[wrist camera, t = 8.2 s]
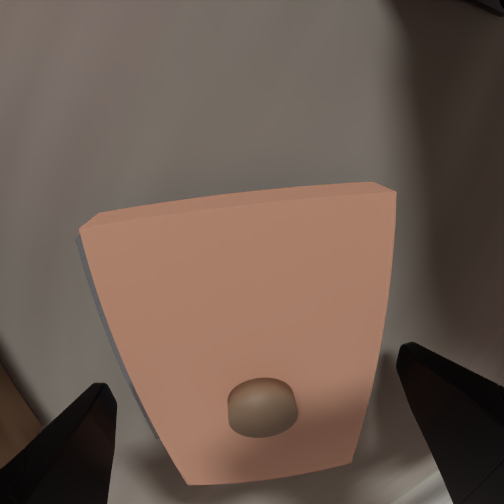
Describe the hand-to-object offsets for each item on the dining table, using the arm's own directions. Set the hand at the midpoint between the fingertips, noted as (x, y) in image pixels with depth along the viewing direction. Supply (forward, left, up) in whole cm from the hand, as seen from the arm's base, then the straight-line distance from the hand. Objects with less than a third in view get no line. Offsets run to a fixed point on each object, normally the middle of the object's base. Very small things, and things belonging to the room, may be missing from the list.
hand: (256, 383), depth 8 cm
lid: (0, 0, -1) cm, 1 cm away
